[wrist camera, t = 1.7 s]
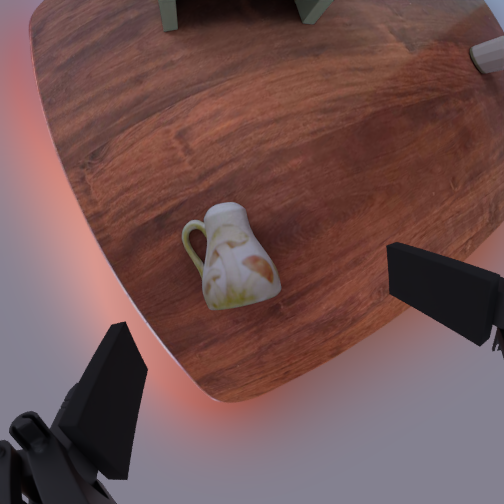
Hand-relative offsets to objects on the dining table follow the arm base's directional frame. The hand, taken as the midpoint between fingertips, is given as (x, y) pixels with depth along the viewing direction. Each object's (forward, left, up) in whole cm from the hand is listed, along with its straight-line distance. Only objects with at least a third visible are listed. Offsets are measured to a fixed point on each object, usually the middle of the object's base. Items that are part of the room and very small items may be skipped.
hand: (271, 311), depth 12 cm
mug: (+1, 0, -17) cm, 17 cm away
